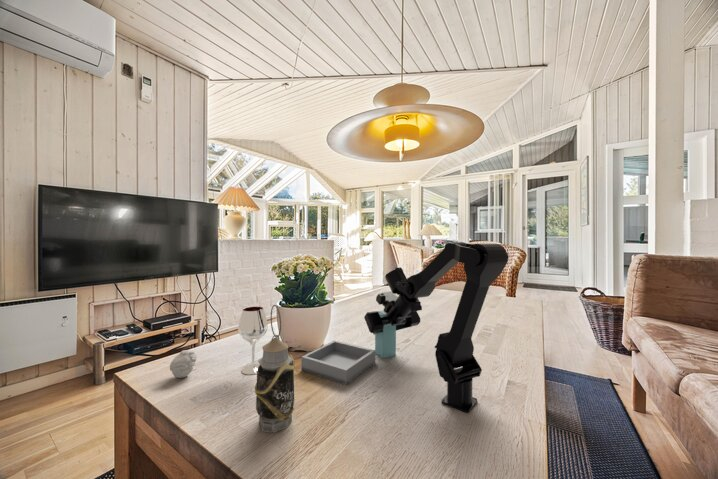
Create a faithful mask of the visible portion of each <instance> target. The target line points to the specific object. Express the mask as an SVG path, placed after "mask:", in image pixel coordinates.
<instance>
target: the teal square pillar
mask: <svg viewBox="0 0 718 479" xmlns="http://www.w3.org/2000/svg"><path fill="white" fill-rule="evenodd" d="M377 312H378V313H379V315H380V317H386V313H385V312H384V310H383V309H382V310H377ZM396 344H397V331H396V325H395V326H392V325H391V324H389V325H384V329H383V332H381V333H378V334H375V335H374V350H375V355H378V356H379V357H380V358H383V359H385V358H390V357H394V356H396V355H397V347H396V346H397V345H396Z"/></svg>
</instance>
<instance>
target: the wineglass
mask: <svg viewBox="0 0 718 479" xmlns="http://www.w3.org/2000/svg"><path fill="white" fill-rule="evenodd" d="M268 327H269V326H268V319H267V316H266V313H265V309H264V307H262V306H248V307H245V308H243V309H242V312H241V314H240V319H239V323H238V328H237V331H238V334H239V335H240V337H241V338H242V339H243V340H245V341H246V342H248V344H250V346H251V364H249V365H248V364H247V365H246V366H243V368H241V373H242V374H243V375H247V376H248V375H257V370H258V367H259V366H260V363H256V362H255V361H256V360H255V359H256V358H255V357H256V356H255V355H256V354H255V352H256V351H255V350H256V349H255V348H256V347H255V346H256V344H257V343H258V342H259V341H260V340H261V339H262V338H263V337H264V336H265V334H267V332H268V330H269V329H268Z"/></svg>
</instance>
